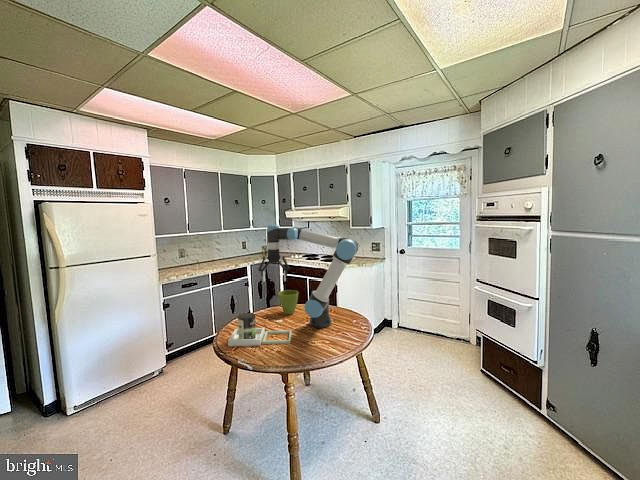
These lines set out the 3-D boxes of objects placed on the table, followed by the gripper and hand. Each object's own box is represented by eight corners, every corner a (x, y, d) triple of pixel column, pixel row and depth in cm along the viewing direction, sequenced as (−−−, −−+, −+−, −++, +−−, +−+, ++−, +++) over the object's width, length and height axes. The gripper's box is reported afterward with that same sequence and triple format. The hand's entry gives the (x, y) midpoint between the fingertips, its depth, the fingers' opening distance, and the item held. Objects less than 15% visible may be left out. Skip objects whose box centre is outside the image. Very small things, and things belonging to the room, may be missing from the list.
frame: (291, 332, 189) (291, 330, 189) (290, 343, 174) (290, 340, 173) (266, 333, 189) (266, 330, 189) (262, 344, 173) (262, 341, 173)
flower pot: (275, 313, 227) (274, 292, 226) (289, 308, 239) (288, 289, 237) (288, 317, 218) (288, 296, 216) (302, 312, 229) (302, 292, 228)
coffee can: (258, 335, 183) (258, 313, 182) (251, 342, 173) (250, 318, 172) (243, 334, 185) (242, 312, 184) (235, 341, 175) (234, 317, 174)
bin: (264, 333, 189) (264, 327, 188) (260, 345, 171) (260, 339, 171) (235, 334, 188) (235, 328, 188) (228, 346, 170) (228, 340, 170)
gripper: (293, 247, 198) (293, 279, 199) (255, 248, 196) (256, 280, 198) (292, 249, 190) (293, 281, 192) (253, 249, 189) (254, 282, 191)
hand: (274, 281), depth 195 cm, fingers open, 13 cm apart
